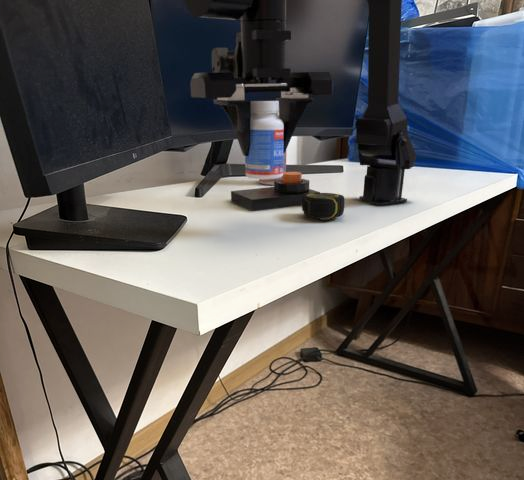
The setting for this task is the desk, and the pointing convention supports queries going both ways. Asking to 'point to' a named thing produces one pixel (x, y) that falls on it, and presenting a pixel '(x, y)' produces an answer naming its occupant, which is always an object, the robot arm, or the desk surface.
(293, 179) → the button
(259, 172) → the pill bottle
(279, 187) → the scale
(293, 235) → the desk surface
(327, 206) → the tape measure
